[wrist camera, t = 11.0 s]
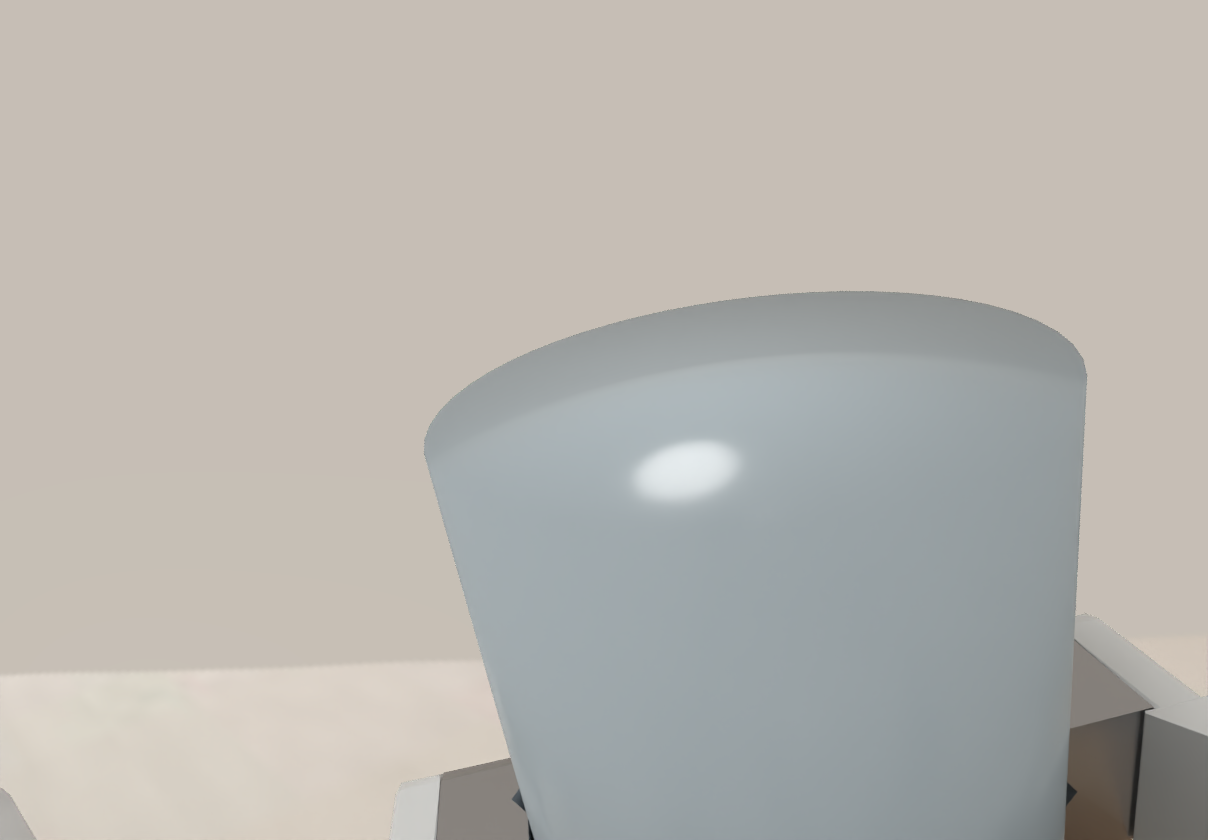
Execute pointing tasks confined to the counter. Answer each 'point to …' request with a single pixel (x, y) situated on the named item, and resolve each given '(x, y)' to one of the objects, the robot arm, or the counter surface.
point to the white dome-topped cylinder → (12, 820)
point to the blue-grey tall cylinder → (778, 569)
